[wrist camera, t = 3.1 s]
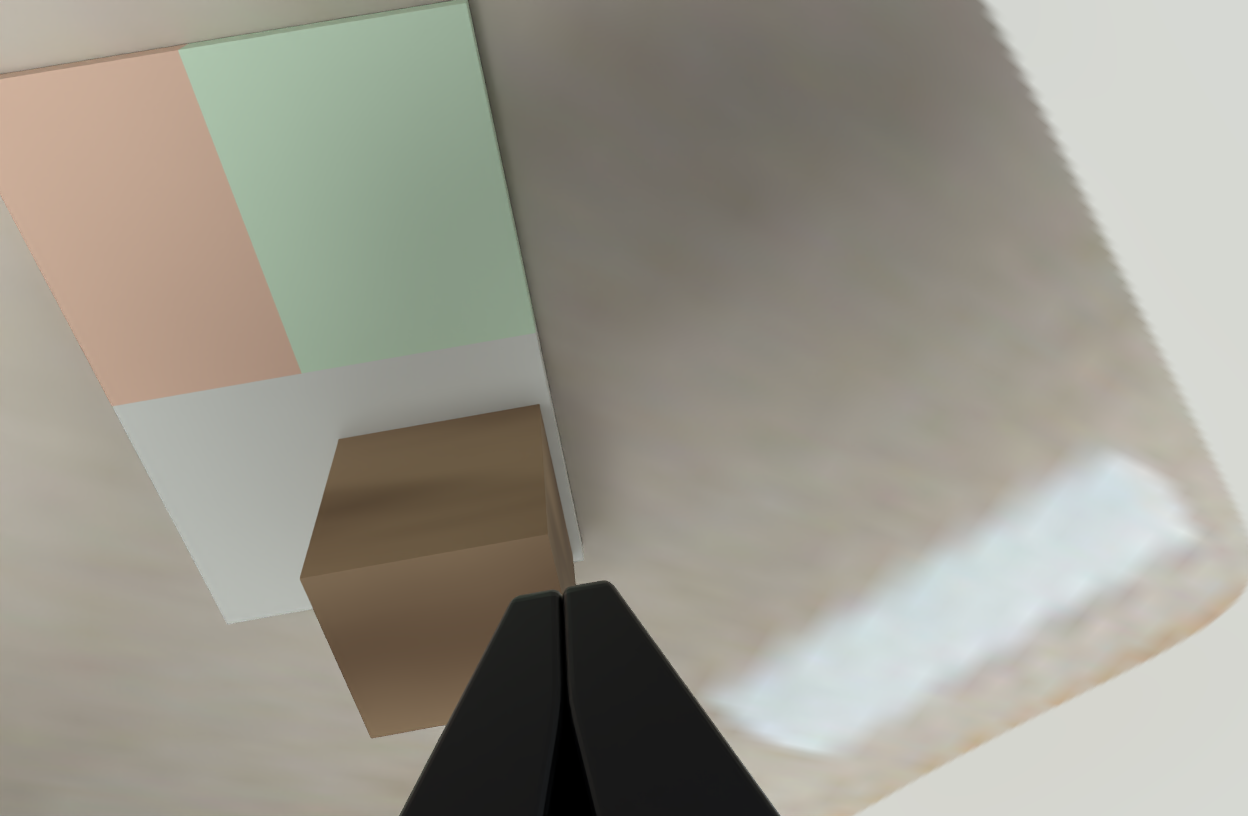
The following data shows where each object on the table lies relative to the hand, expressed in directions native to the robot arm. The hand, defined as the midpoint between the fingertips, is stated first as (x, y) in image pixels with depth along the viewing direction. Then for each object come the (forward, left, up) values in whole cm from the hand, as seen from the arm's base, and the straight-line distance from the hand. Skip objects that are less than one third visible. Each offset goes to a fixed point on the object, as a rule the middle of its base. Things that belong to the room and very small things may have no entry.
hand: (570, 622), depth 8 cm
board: (-3, +5, -12) cm, 13 cm away
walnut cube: (-7, +3, -12) cm, 14 cm away
